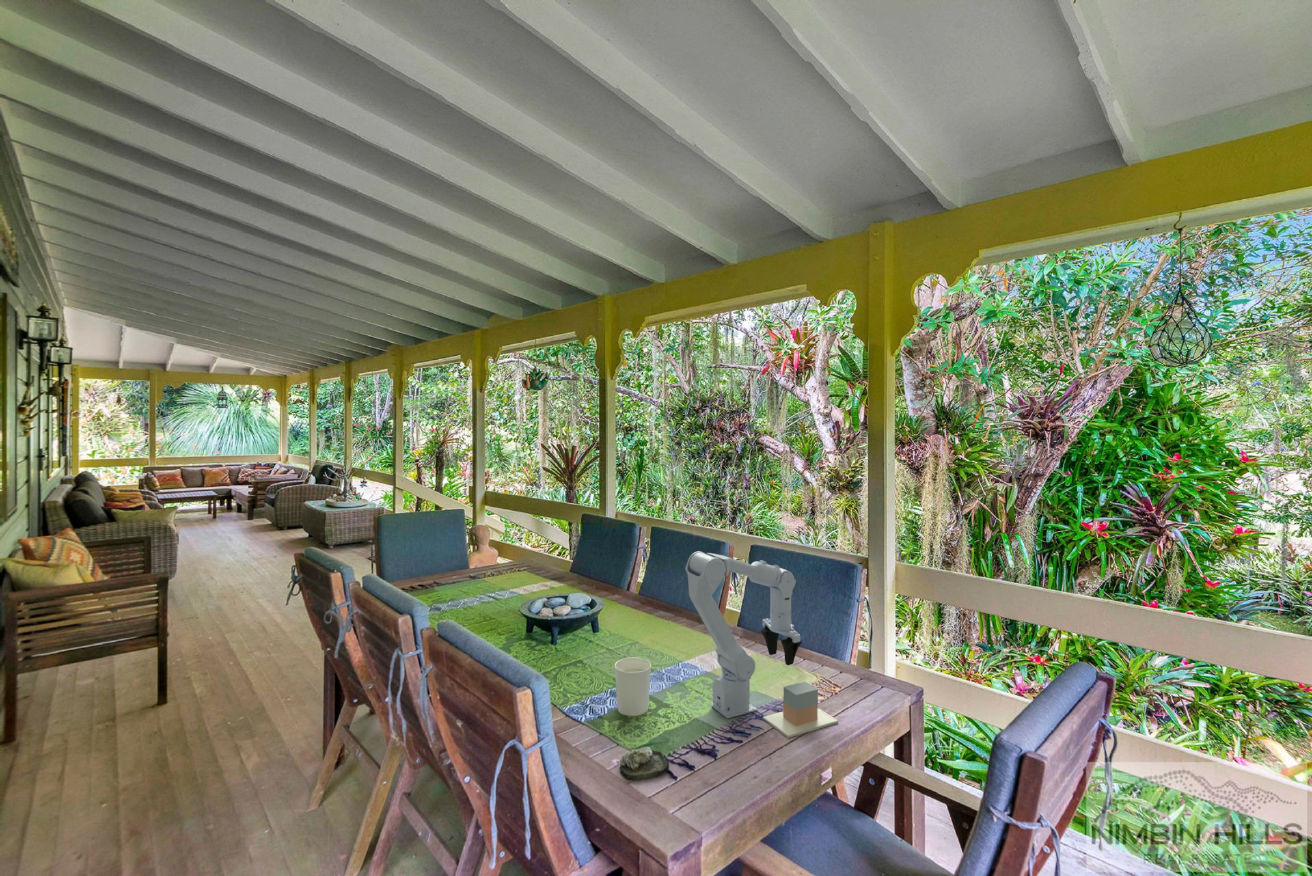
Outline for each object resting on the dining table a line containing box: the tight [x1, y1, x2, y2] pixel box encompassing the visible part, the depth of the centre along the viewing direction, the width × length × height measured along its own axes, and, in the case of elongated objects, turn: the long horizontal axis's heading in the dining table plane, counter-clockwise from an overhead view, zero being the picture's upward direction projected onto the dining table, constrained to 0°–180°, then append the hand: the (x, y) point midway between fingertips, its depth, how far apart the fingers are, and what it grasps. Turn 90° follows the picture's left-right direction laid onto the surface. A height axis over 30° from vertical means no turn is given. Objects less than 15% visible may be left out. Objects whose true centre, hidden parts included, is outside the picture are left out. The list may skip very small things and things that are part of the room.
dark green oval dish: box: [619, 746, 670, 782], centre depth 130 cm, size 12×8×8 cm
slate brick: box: [782, 681, 819, 711], centre depth 149 cm, size 7×5×4 cm
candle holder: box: [614, 656, 652, 717], centre depth 156 cm, size 10×10×12 cm
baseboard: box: [762, 707, 839, 739], centre depth 149 cm, size 16×10×1 cm, turn 116°
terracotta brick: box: [782, 701, 819, 726], centre depth 149 cm, size 7×5×4 cm
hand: (780, 659), depth 163 cm, fingers open, 7 cm apart
